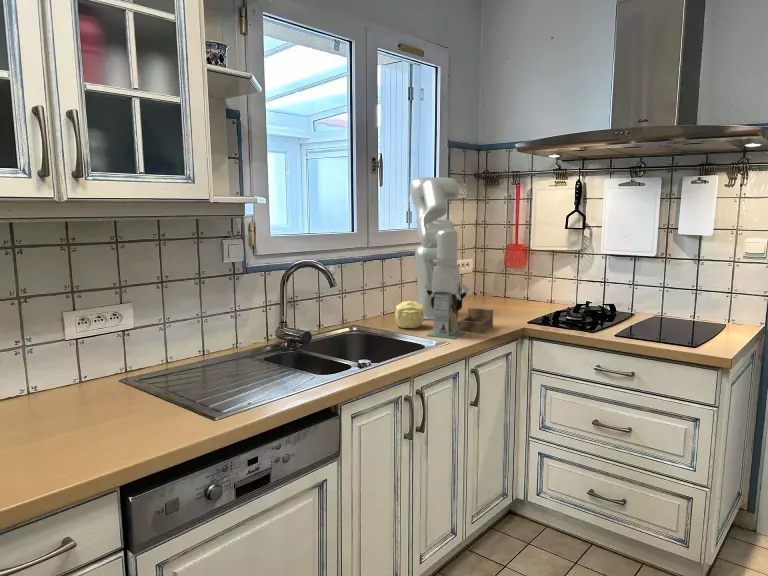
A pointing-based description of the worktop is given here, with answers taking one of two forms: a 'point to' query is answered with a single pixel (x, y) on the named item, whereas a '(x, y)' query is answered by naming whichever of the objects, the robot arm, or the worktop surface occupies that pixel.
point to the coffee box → (445, 314)
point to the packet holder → (476, 321)
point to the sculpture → (409, 314)
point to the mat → (447, 336)
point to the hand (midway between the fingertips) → (446, 308)
